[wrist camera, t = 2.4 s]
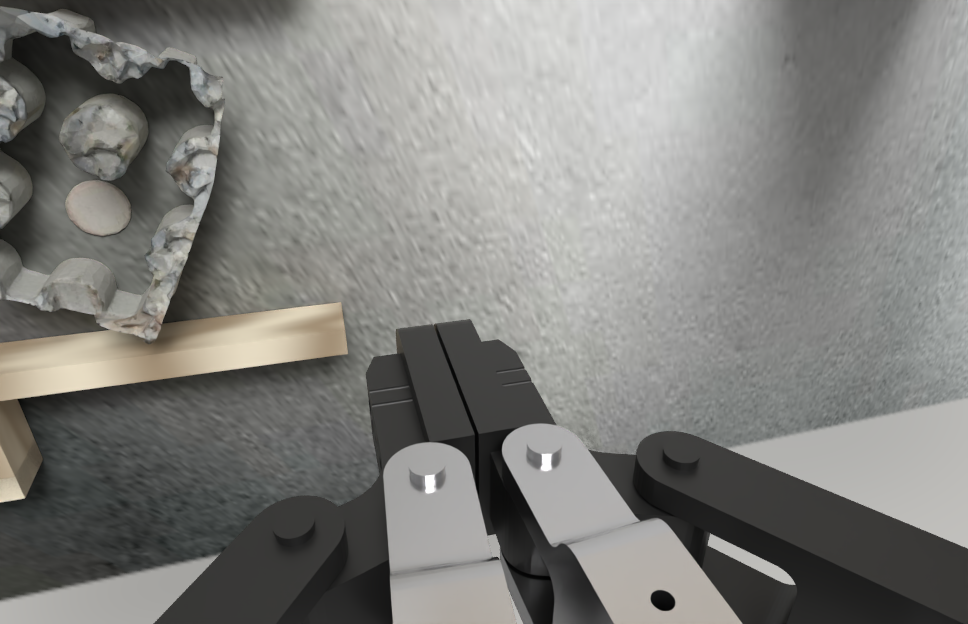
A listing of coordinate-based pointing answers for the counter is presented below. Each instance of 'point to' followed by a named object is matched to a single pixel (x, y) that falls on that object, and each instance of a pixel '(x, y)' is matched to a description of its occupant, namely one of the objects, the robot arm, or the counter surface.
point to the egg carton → (102, 173)
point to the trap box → (147, 365)
